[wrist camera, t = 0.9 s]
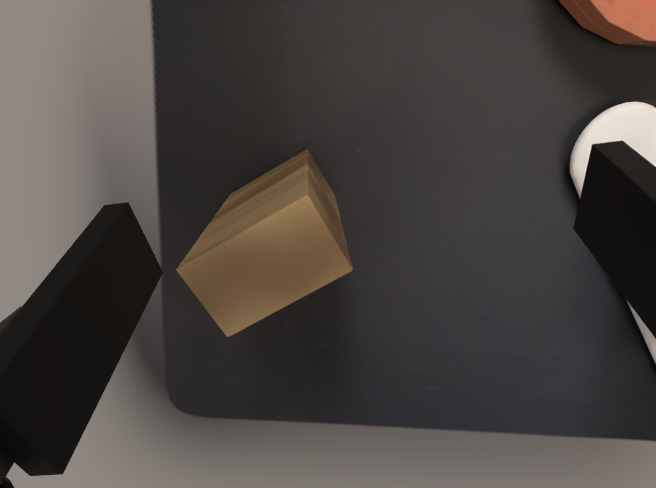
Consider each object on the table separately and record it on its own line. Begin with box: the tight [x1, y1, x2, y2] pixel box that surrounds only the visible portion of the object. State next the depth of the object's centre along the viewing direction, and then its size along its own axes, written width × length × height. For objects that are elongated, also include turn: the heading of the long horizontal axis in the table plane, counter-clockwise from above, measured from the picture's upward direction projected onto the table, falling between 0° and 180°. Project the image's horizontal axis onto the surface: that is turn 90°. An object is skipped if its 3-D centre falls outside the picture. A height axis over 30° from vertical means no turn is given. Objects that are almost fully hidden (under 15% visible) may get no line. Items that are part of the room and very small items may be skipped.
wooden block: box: [176, 148, 353, 337], centre depth 23 cm, size 4×6×13 cm, turn 119°
